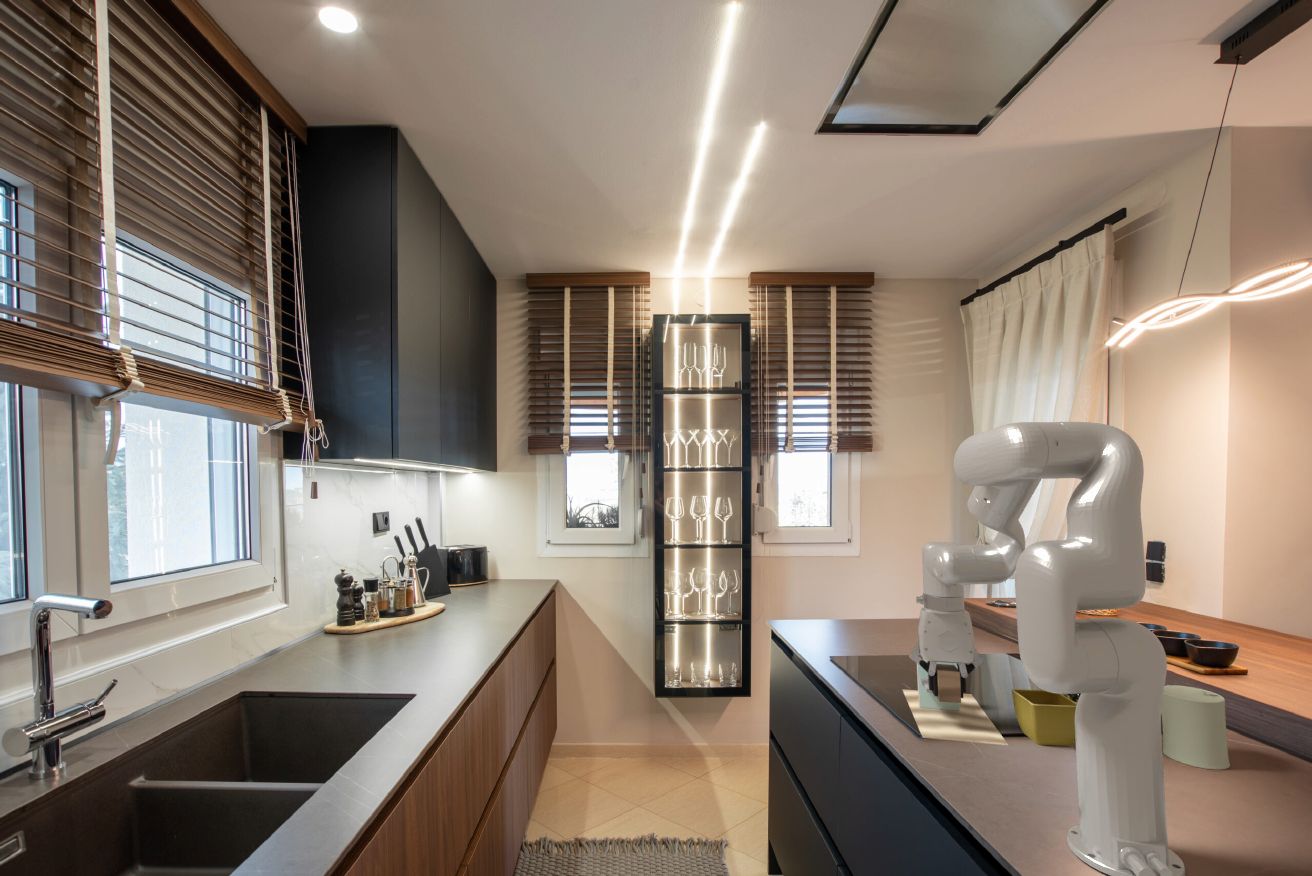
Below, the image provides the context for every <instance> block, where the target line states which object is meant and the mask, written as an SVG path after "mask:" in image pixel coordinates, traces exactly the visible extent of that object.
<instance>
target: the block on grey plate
mask: <svg viewBox="0 0 1312 876" xmlns="http://www.w3.org/2000/svg"><path fill="white" fill-rule="evenodd" d="M935 672H936V676H937V678H938V696H936V697H937V698H938V700H939V702H951V703H961V685H960V672H959V670H958V669H957V668H956V666H955V665H948V664H936V670H935ZM921 683H922V685H923V687H924V689H925V690H926V692H927V693H932V690H929V681H928V679H927V678H921Z"/></svg>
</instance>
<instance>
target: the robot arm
mask: <svg viewBox="0 0 1312 876" xmlns="http://www.w3.org/2000/svg"><path fill="white" fill-rule="evenodd" d="M953 470H954V471H953V472H954V474H955V476H956V478H957V479H958V481H959V482H961V483H963V485H967V486H972V487H973V489H972V492H971V494H970V495H969V498H968V500H967V504H966V505H967V510H968V512H969V513H970V515H971V516H972V518H974V519H975V521H977V522H978V523H980V524H981V525H983V526H985V527H987V528H988V529H991V530H994V531H996V532H997V534H996V535H995V537H994V538H993V540H992V542H991V543H990V544H963V545H961V544H960V545H959V544H958V543H954V542H950V541H949V542H948V541H947V542H946V541H931V542H926V543H925V544H923V546H922V548H921V557H922V558H921V559H922V587H923V592H922V595H920V596H915V600H916V601H915V602H916V604H920V605H922V606H923V607H920V612H919V617H918V618H919V619H918V630H917V631H918V632H917V633H918V634H917V642H916V644H915V646H914V647H913V648H912V650H911V651H910V653H909V654H908V657H909V658H910V660H911V661H913V662H914V663H916V665H917V664H919V665H920V666H921V667H922V668H923V669H924V670H925V671H926V672H927V673H928V681H929V690H932V693H933V694H934V696H938V678H937V676H936V672H935V670H936V664H937V662H944V663H956V664H957V669H958V670H959V672H960V685H961V698H963V694H967V683H966V679H967V678H968V676H969V674H971V673H972V672H973V671H974V670H975V669H976V668H978V667H980V666H982V665H983V664H984V663H985V660H984V658H983V657H982V655H981V654H980V653H979V652H978V650H977V649H976V646H975V637H974V636H975V635H974V629H973V623H972V619H971V615H970V612H969V611H967V610H966V609H965V592H964V591H965V590H964V589H965V588H964V586H970V585H996V584H997V585H998V584H1002V583H1004V582H1006V581H1008V580H1009V579H1010V578H1011V577H1012V575H1014V589H1015V590H1014V591H1015V592H1014V593H1015V606H1016V610H1015V611H1016V626H1017V640H1018V641H1017V642H1018V649H1019V657H1020V662H1021V664H1022V667H1023V670H1024V673H1026V675H1027V677H1028V678H1029V680H1030V681H1031V682H1032V683H1033V684H1034V685H1035V686H1036V687H1038V688H1039V689H1040V690H1045V691H1047V692H1051V693H1058V694H1062V695H1066V694H1067V695H1068V694H1071V695H1073V694H1080V695H1079V698H1078V700H1077V702H1076V703H1077V706H1076V710H1075V741H1074V743H1075V758H1076V777H1077V778H1076V779H1077V792H1078V793H1077V796H1078V812H1079V814H1078V815H1079V824H1075V825H1074V826H1072V827H1070V828H1069V829H1068V830H1067V833H1066V834H1067V835H1066V839H1067V845H1068V847H1069V849H1070V850H1071V851H1072V853H1073V854H1074V855H1075V856H1077V857H1078V858H1079V859H1080V860H1081V861H1083V862H1084V863H1085V864H1086V865H1089V866H1090V867H1092V868H1093V869H1095V870H1097V871H1099V872H1100V873H1103V874H1106V875H1108V876H1186V869H1185V864H1184V861H1183V860H1182V859H1181V857H1180V856H1179V855H1178V854H1177V853H1175V852H1174V851H1173V850H1172V849H1171V848H1169V841H1168V838H1169V837H1168V825H1167V823H1168V822H1167V807H1166V794H1165V793H1166V791H1165V776H1164V775H1165V773H1164V762H1163V761H1164V760H1163V758H1164V757H1163V741H1162V740H1163V735H1162V711H1161V704H1162V696H1163V690H1164V686H1166V678H1167V671H1168V662H1167V655H1166V651H1165V648H1164V645H1163V644H1162V642H1161V641H1160V639H1159V638H1158V637H1157V636H1156V634H1154V633H1153V631H1152V630H1150V629H1149V628H1148V627H1146V626H1144V625H1143V624H1141V623H1139V622H1135V621H1134V620H1133V621H1132V620H1130V619H1124V618H1118V617H1116V618H1115V617H1094V618H1092V617H1091V618H1077V619H1076V616H1077V615H1076V614H1077V611H1101V610H1102V611H1103V610H1117V609H1118V610H1119V609H1127V608H1130V607H1134V606H1136V605H1137V604H1139V603H1140V602H1142V600H1143V598H1144V596H1145V593H1146V587H1147V581H1146V580H1147V579H1146V577H1147V576H1146V574H1147V573H1146V560H1145V549H1144V534H1143V524H1142V523H1143V522H1142V510H1141V509H1142V508H1141V506H1142V492H1143V482H1144V470H1145V469H1144V461H1143V455H1142V452H1141V450H1140V448H1139V445H1138V444H1137V443H1136V442H1135V440H1134V439H1133V438H1132V437H1131V436H1130V434H1128V433H1127V432H1126V431H1124V430H1122V429H1120V428H1119V427H1116V426H1112V425H1110V424H1107V423H1100V422H1092V421H1091V422H1089V421H1088V422H1087V421H1049V422H1048V421H1047V422H1046V421H1045V422H1044V421H1040V422H1039V421H1036V422H1033V421H1024V422H1023V421H1020V422H1011V423H1006V424H1003V425H1000V426H997V427H995V428H991V429H988V430H984V431H982V432H978V433H975V434H973V435H970V436H969V437H967V438H965V439H964V440H963V441H962V442H961V443H960V445H959V446H958V448H957V450H956V451H955V454H954V457H953ZM1043 479H1047V480H1049V479H1051V480H1052V479H1055V480H1057V479H1078V480H1081V481H1080V482H1079V483H1078V484H1077V486H1076V487H1075V489H1074V490H1073V492H1072V493H1071V496H1070V498H1069V500H1068V504H1067V506H1066V515H1065V516H1066V524H1067V533H1066V534H1067V535H1066V539H1065V540H1064V539H1059V540H1057V539H1056V540H1055V539H1054V540H1051V539H1050V540H1042V541H1038V542H1034V543H1031V544H1030V545H1028V546H1027V547H1026V536H1025V531H1024V527H1022V524H1021V522H1020V521H1019V520H1020V517H1021V516H1022V514H1023V512H1024V511H1025V509H1026V507H1027V506H1028V503H1030V500H1031V498H1032V497H1033V495H1034V494H1035V491H1036V489H1037V488H1038V486H1039V484H1040V482H1041V481H1042V480H1043ZM920 656H921V657H920ZM923 659H925V660H927V663H926V662H925V661H924V660H923Z"/></svg>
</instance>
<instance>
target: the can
mask: <svg viewBox="0 0 1312 876" xmlns="http://www.w3.org/2000/svg"><path fill="white" fill-rule="evenodd" d="M1161 728H1162V740H1163V741H1162V753H1163V754H1164V755H1165V756H1166V757H1168V758H1169V759H1172V760H1173V761H1176V762H1177V763H1181V764H1184V765H1186V766H1190V767H1194V768H1200V769H1205V770H1213V771H1215V770H1217V771H1218V770H1219V771H1220V770H1226V769H1227V770H1228V769H1229V768H1230V767H1231V764H1230V763H1231V762H1230V760H1229V759H1230V758H1229V752H1228V751H1229V750H1228V738H1227V736H1228V735H1227V722H1226V698H1224V697H1223V696H1222V694H1221V695H1220V694H1218V693H1216V692H1213V691H1211V690H1210V691H1209V690H1207V689H1203V688H1198V687H1193V686H1186V685H1174V684H1172V685H1171V684H1167V685H1166V684H1165V685H1164V690H1163V696H1162V704H1161Z"/></svg>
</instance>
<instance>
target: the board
mask: <svg viewBox="0 0 1312 876" xmlns="http://www.w3.org/2000/svg"><path fill="white" fill-rule="evenodd" d="M901 690H902V692H903V694H904V697H905V700H906V701H907V702H906V703H908V706H909V709H910V711H911V713H912V716H913V719H914V720H915V722H916V725H917V728H918V730H919V732H920V735H921V737H922V738H924V739H931V740H932V739H933V740H942V741H943V740H944V741H953V742H955V741H956V742H966V743H977V744H987V745H988V744H990V745H999V746H1009V743H1008V742H1007V741H1006V740H1005V737H1003V736H1002V734H1001V732H1000V731H999V730H998V729H997V727H996V726H995V725H994V723H993V722H992V720H991V719H990V718H989V716H988V715H987V714H986V712H985V710H984V709H983V708H982V706H981V705H980V704H979V703H978V701H977V700H976V698H975V697H974V696H973V694H971V693H970V694H969V693H963V698H961V703H959V708H960V711H957V710H944V709H931V708H920V707H919V705H918V689H916V690H915V689H903V688H902V689H901Z"/></svg>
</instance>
